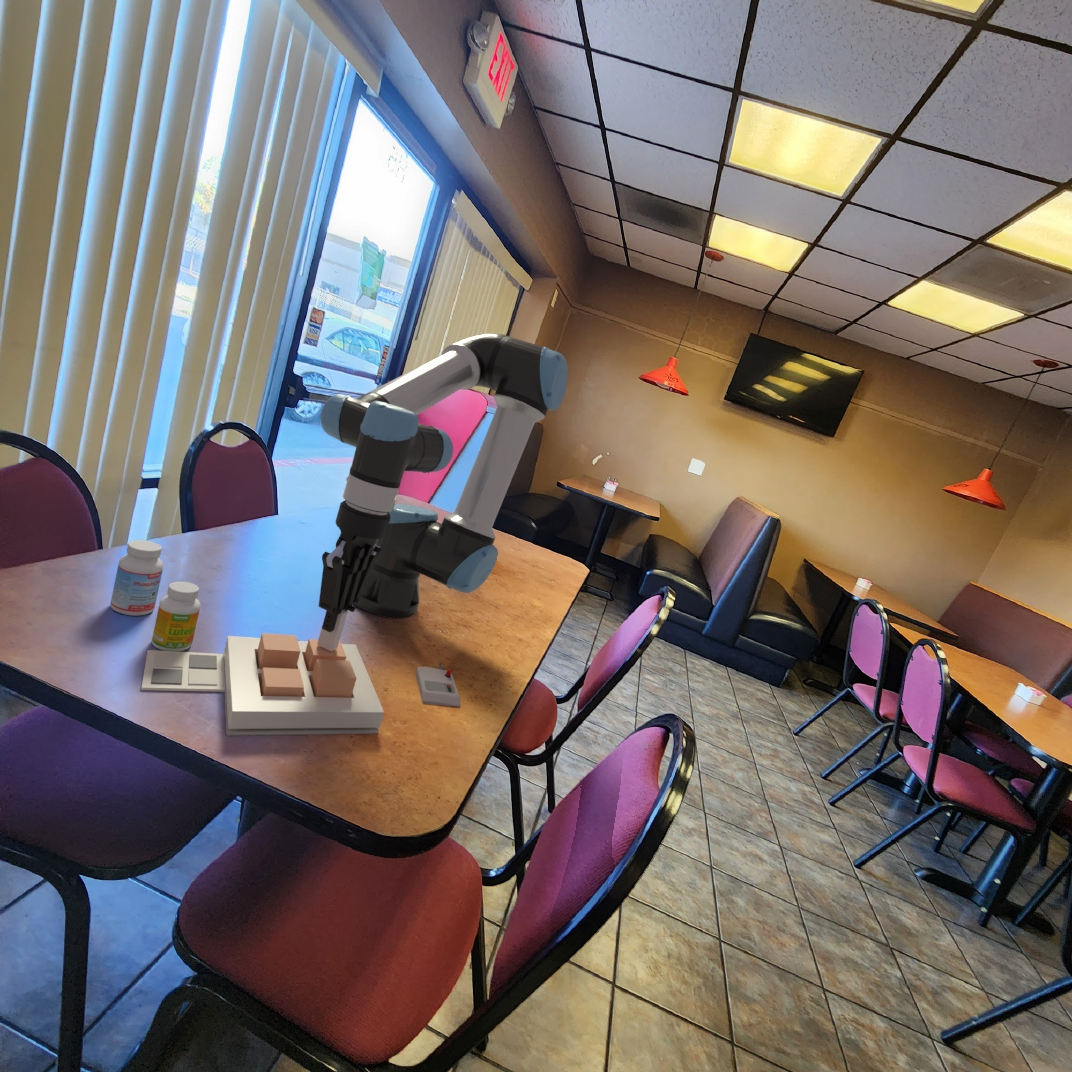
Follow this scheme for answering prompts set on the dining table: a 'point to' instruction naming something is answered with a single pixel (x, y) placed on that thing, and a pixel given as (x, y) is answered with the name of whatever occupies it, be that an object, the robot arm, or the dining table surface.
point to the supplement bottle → (177, 617)
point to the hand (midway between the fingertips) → (327, 646)
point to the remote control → (437, 686)
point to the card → (183, 671)
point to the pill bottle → (138, 579)
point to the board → (294, 698)
